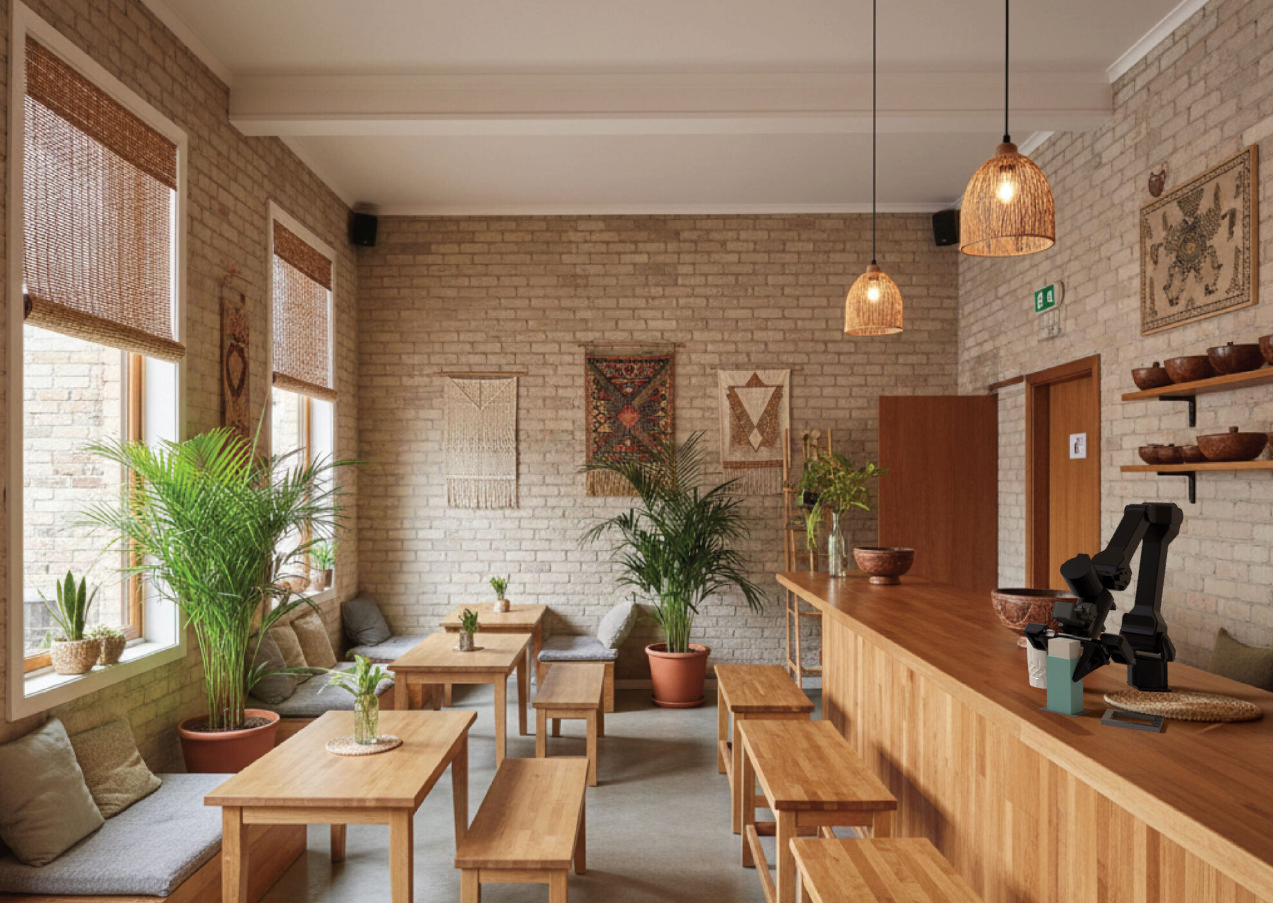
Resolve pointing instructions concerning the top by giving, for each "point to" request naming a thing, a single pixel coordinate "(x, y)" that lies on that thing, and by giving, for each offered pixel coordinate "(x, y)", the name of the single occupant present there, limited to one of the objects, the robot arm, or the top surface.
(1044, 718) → the top surface
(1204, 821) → the top surface
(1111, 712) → the socket
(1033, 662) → the white cup
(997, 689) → the top surface
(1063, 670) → the peg
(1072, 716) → the pad
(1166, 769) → the top surface
